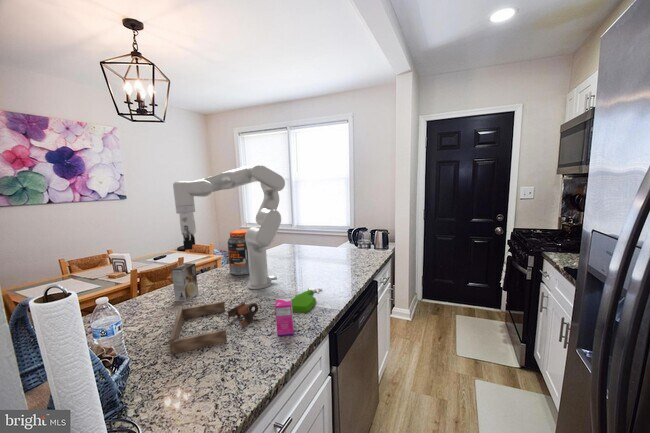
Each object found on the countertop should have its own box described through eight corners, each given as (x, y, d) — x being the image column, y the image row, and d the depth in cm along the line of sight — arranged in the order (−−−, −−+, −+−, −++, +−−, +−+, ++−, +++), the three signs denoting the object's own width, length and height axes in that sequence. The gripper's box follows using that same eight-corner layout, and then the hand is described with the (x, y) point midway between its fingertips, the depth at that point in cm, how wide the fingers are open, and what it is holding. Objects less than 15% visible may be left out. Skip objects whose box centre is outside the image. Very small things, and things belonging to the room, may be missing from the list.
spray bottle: (284, 312, 114) (304, 290, 138) (309, 314, 111) (325, 291, 135) (284, 305, 114) (304, 284, 138) (309, 307, 111) (325, 286, 135)
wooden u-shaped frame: (225, 309, 118) (224, 298, 117) (227, 341, 93) (225, 327, 93) (180, 318, 112) (179, 306, 111) (170, 354, 87) (168, 340, 87)
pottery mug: (235, 332, 100) (226, 312, 101) (232, 332, 108) (224, 313, 109) (264, 314, 106) (255, 295, 107) (260, 315, 114) (251, 298, 115)
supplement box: (278, 328, 101) (276, 298, 99) (294, 327, 101) (292, 297, 100) (276, 336, 95) (274, 305, 94) (293, 335, 95) (291, 304, 94)
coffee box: (187, 293, 138) (184, 262, 136) (198, 294, 137) (195, 263, 135) (174, 301, 129) (170, 268, 127) (186, 301, 128) (182, 268, 126)
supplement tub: (224, 274, 166) (220, 232, 163) (241, 266, 180) (238, 228, 177) (245, 276, 160) (241, 233, 157) (261, 268, 174) (258, 229, 171)
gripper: (192, 210, 112) (197, 250, 114) (197, 207, 128) (201, 242, 131) (172, 211, 110) (177, 252, 112) (179, 208, 126) (183, 244, 128)
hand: (190, 247), depth 121 cm, fingers open, 9 cm apart
